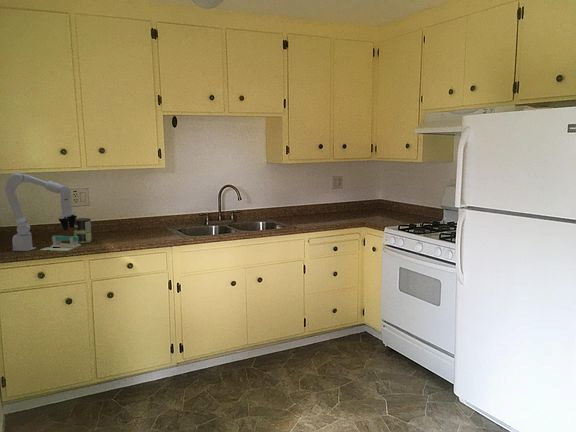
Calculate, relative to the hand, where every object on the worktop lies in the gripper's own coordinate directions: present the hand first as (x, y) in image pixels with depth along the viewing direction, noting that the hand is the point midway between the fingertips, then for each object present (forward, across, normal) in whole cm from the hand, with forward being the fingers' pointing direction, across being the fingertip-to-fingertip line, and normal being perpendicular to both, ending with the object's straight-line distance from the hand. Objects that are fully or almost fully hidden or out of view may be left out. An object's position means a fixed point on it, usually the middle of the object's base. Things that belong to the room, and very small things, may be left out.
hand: (69, 228), depth 270 cm
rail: (+5, -2, +2) cm, 6 cm away
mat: (+10, -10, +4) cm, 15 cm away
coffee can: (+11, +14, -1) cm, 18 cm away
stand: (+10, -2, +2) cm, 11 cm away
